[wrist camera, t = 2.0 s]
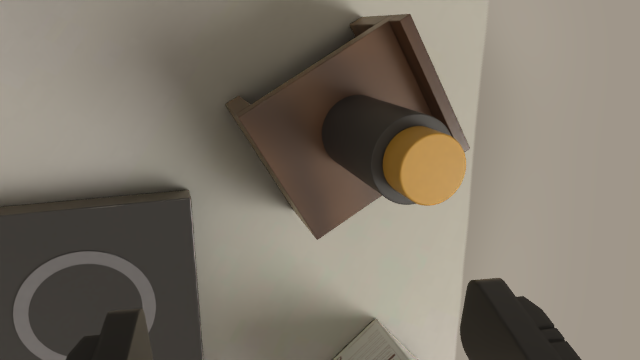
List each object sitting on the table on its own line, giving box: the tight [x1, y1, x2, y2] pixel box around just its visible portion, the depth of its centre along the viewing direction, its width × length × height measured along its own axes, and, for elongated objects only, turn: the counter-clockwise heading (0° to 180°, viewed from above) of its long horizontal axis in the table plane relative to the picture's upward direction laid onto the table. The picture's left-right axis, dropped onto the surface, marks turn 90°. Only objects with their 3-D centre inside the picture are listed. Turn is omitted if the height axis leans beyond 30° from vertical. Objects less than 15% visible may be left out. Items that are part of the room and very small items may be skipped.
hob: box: [0, 190, 203, 360], centre depth 36 cm, size 15×15×2 cm
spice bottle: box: [322, 95, 466, 205], centre depth 29 cm, size 5×5×10 cm
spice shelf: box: [225, 14, 470, 240], centre depth 36 cm, size 12×10×8 cm
